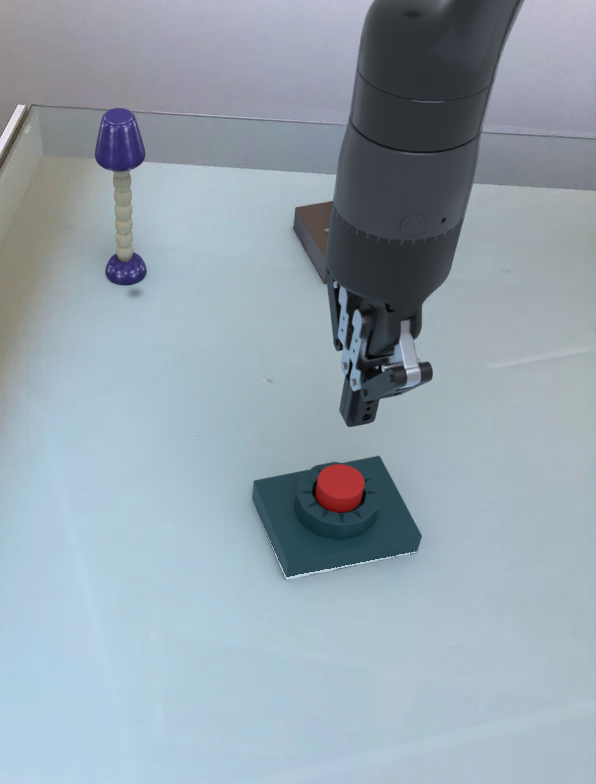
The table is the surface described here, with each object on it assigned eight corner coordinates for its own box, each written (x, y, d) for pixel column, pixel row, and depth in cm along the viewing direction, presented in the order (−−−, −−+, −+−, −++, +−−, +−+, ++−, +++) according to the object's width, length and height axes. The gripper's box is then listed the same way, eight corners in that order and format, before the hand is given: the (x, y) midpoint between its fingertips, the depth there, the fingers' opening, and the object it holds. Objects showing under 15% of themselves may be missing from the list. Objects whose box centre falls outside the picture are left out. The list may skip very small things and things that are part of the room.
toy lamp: (157, 277, 98) (154, 117, 85) (119, 294, 97) (110, 134, 83) (131, 254, 101) (124, 94, 87) (94, 271, 99) (81, 111, 86)
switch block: (375, 473, 82) (383, 439, 79) (416, 553, 77) (427, 521, 74) (251, 498, 81) (254, 465, 77) (285, 581, 76) (290, 549, 72)
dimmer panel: (398, 210, 104) (403, 187, 102) (435, 264, 98) (441, 241, 96) (292, 228, 103) (295, 205, 100) (324, 284, 97) (327, 261, 95)
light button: (351, 475, 77) (355, 460, 76) (368, 508, 75) (371, 493, 74) (309, 483, 77) (311, 468, 75) (324, 517, 75) (327, 502, 73)
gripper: (514, 252, 51) (443, 473, 65) (416, 126, 59) (371, 349, 73) (381, 276, 50) (338, 495, 65) (299, 146, 58) (277, 368, 72)
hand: (356, 417), depth 69 cm, fingers closed
